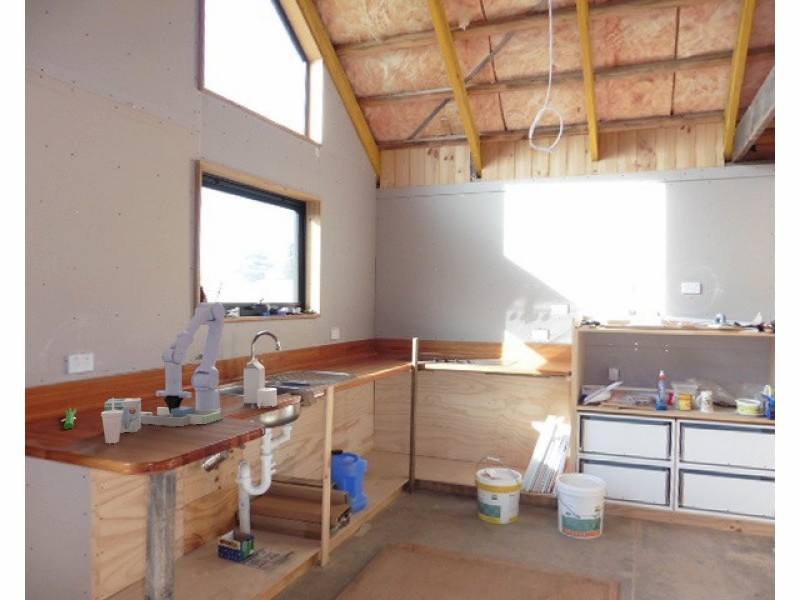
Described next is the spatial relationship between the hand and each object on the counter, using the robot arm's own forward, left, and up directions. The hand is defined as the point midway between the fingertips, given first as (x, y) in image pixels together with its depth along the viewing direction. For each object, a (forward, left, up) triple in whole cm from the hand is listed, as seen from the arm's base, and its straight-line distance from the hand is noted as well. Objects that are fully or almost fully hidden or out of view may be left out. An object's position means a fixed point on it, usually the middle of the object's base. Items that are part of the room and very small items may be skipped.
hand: (173, 416), depth 219 cm
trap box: (+3, +3, -1) cm, 4 cm away
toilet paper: (-33, +19, -2) cm, 38 cm away
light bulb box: (+22, -3, -2) cm, 22 cm away
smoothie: (+36, +6, -1) cm, 36 cm away
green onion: (+15, -35, -2) cm, 38 cm away
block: (+1, +5, -1) cm, 5 cm away
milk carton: (-40, +10, -1) cm, 42 cm away
